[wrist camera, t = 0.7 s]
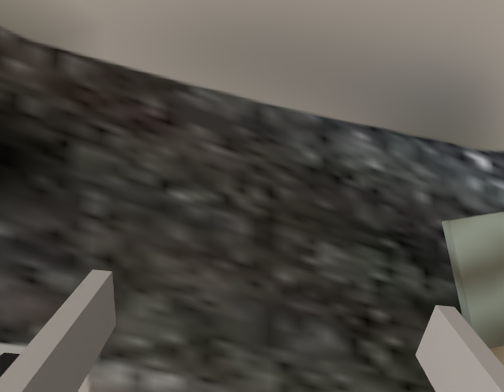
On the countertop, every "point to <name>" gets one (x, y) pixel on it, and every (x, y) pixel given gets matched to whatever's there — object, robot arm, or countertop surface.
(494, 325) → the cutting board
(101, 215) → the countertop surface
